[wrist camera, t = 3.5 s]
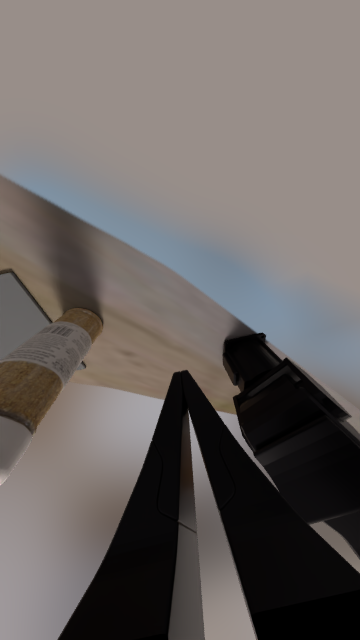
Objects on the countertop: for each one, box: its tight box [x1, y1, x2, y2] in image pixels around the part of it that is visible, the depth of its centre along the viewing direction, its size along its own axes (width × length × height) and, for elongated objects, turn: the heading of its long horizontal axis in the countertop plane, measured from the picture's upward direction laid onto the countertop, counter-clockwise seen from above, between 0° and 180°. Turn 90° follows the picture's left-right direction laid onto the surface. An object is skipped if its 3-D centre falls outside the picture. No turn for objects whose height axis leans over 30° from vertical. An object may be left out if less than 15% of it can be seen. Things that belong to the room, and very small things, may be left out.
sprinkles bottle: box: [0, 308, 103, 485], centre depth 11 cm, size 5×5×13 cm
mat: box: [0, 272, 86, 370], centre depth 17 cm, size 11×14×1 cm
